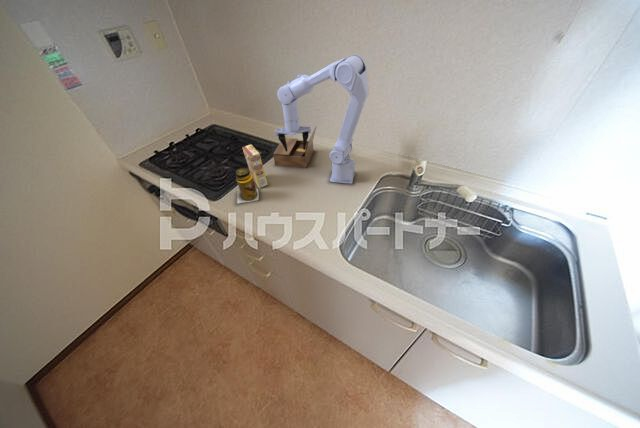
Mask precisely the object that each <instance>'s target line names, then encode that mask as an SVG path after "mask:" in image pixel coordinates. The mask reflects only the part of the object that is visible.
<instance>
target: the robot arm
mask: <svg viewBox="0 0 640 428" xmlns="http://www.w3.org/2000/svg"><path fill="white" fill-rule="evenodd" d="M367 72H368V66H367V65H366V62H365V60H364V59H363V58H362V57H361V56H360V55H358V54H352V55H350V56H349V57H344V58H341V59H338V60H336V61H334V62H331V63H330V64H328V65H327V66H325V67H323V68H321V69H320V70H318V71H316V72H315V73H313V74H311V75H308V74H302V73H300V74H298V75H296V78H294V79H293V80H288V81H287V82H286V84H284V85H283V86H280V87H279V89H277V92H276V97H277V99H278V101H279V102H280V103H281V108H282V114H283V121H284V127H282V128H277V129H274V135H275V137H278V140H279V143H280V142H281V143H282V144H283V146H284V148H285V151H286V152H287V144H286V139H285V138H286V136H287V135H290V136H295V135H297V134H302V140H303V149H304V150H305V146H306V142H307V141H308V140H309V137H310V136H309V135H310V134H312V129H311V126H303V125H302V126H300V118H299V109H298V99H300V98H302V97H303V96H305V95H308V94H310V93H312V92H313V90H314V87H315V86H317V85H319V84H321V83H324V82H325V81H328V80H331V81H332V82H338V83H339V84H340V85H341V86H342V87H343V88H344V89H345V90H346V91H347V92H348V94H349V95H350V99H349V102H348V105H347V108H346V111H345V115H344V118H343V121H342V124H341V128H340V131H339V135H338V138H337V140H336V142H335V143H334V147H333V149H332V150H331V151H330V152H329V154H328V155H329V159H330V161H331V175H330V179H329V182H330V183H338V184H348V185H353V182H354V178H355V169H356V167H355V166H356V159H354V158H351V156H350V153H351V152H352V150H353V141H354V139H353V137H354V134H355V131H356V129H357V126H358V123H359V120H360V118H361V115H362V112H363V108H364V107H365V103H366V101H367V98H368V95H369V83H368V74H367Z"/></svg>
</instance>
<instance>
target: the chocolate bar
mask: <svg viewBox="0 0 640 428" xmlns="http://www.w3.org/2000/svg"><path fill="white" fill-rule="evenodd" d="M306 149H307V145H306V146H305V150H304V149H303V144H300V146H299V147H298V149H297V150H296V152H295V153H294V154H293V156H300V157H305V153H306Z"/></svg>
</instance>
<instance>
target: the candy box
mask: <svg viewBox="0 0 640 428" xmlns="http://www.w3.org/2000/svg"><path fill="white" fill-rule="evenodd" d="M242 150H243V154H244V158H245V161H246V164H247V168H248V169H249V171H250V174H251V175H252V177H253V181H254V184H256V186H257V187H258V189H261V188H263V187H265V186H268V181H267V175H266V172H265V169H264V165H263V162H262V157H261V153H260V152H259V151H258V150H257V149H256V148H255V146H254V145H253V144H248V145H244V146H242Z"/></svg>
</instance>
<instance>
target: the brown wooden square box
mask: <svg viewBox="0 0 640 428" xmlns="http://www.w3.org/2000/svg"><path fill="white" fill-rule="evenodd" d="M285 139H286V144H287V152H286V151H285V148H284V146H283V144H282V143H281V142H280V141H279V143H278V145H277V147H276V149H275V150H274V151H273V153H272V154H273V156H272V158H273V161H274V166H278V167H291V168H303V169H307V168H308V165H309V163H310V161H311V158H312V155H313V153H314V140H313V141H312V143H311V145H310V148H309V150H308V152H307V154H306V156H305V157H300V156H293V154H294V153H295V152H296V150H297V149H298V147H299V146H300V144H303V139H302V140H301V139H298V138H291V137H290V138H289V137H285ZM308 141H309V140H307V142H306V145H308Z"/></svg>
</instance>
